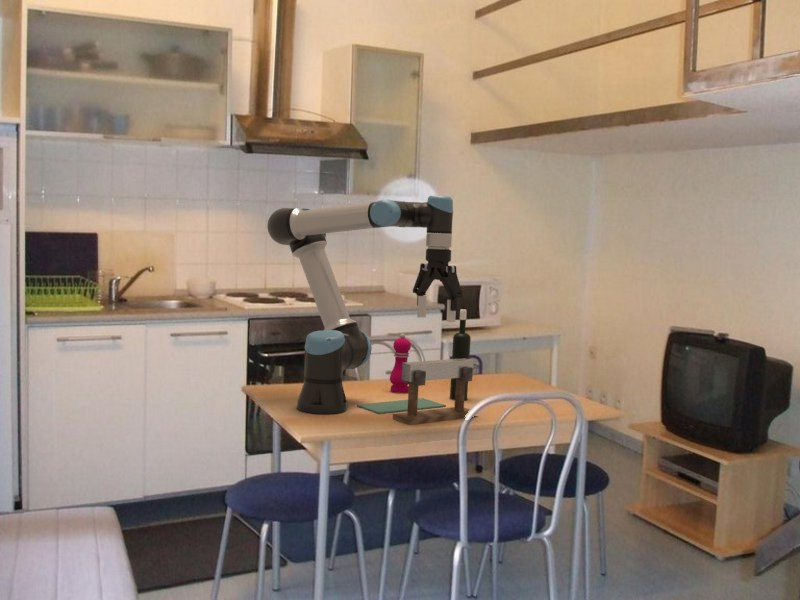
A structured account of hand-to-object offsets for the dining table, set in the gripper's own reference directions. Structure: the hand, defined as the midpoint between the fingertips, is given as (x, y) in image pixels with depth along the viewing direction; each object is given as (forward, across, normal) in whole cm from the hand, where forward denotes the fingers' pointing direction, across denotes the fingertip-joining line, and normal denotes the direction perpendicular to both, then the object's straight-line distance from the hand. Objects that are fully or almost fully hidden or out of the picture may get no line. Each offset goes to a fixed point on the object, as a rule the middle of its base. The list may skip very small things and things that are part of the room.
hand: (435, 319), depth 262 cm
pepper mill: (+29, +34, -14) cm, 47 cm away
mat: (+29, +15, 0) cm, 32 cm away
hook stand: (+29, -2, 0) cm, 29 cm away
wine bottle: (+29, +16, -25) cm, 42 cm away
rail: (+17, -2, 0) cm, 17 cm away
